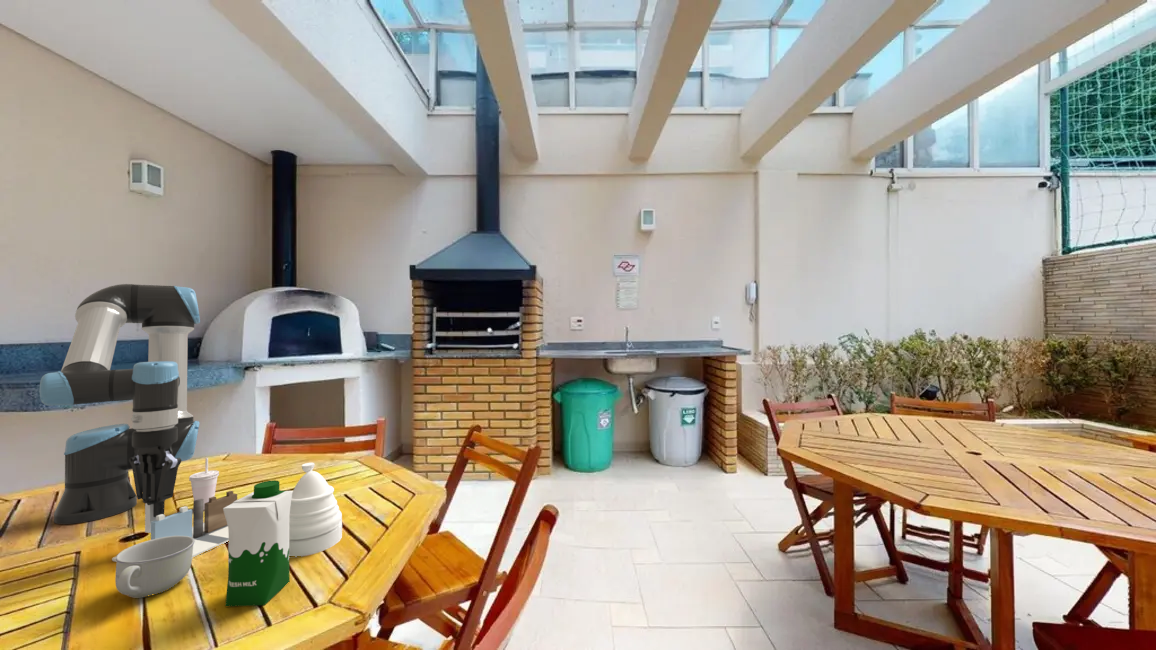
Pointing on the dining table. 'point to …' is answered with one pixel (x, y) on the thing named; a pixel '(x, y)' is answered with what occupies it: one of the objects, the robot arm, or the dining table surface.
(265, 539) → the milk carton
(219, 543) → the card
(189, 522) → the fence panel
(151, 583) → the teacup
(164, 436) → the robot arm
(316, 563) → the dining table surface
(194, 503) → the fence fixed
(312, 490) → the honey pot
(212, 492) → the smoothie
